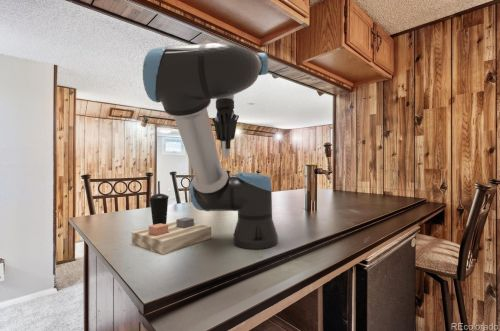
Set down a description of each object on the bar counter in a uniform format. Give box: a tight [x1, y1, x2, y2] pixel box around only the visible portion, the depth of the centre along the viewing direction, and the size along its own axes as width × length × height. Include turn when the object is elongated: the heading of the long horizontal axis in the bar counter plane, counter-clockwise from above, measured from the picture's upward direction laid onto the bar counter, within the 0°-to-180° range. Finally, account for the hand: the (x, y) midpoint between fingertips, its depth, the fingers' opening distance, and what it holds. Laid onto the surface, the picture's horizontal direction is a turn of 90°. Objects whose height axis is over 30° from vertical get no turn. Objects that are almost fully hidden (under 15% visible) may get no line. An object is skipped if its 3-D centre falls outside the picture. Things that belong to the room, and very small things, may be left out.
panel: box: [131, 221, 213, 256], centre depth 87 cm, size 18×20×4 cm
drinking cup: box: [148, 180, 170, 225], centre depth 102 cm, size 8×8×20 cm
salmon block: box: [148, 223, 168, 236], centre depth 83 cm, size 4×4×5 cm
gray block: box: [175, 217, 195, 228], centre depth 92 cm, size 4×4×5 cm
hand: (226, 157), depth 102 cm, fingers closed
